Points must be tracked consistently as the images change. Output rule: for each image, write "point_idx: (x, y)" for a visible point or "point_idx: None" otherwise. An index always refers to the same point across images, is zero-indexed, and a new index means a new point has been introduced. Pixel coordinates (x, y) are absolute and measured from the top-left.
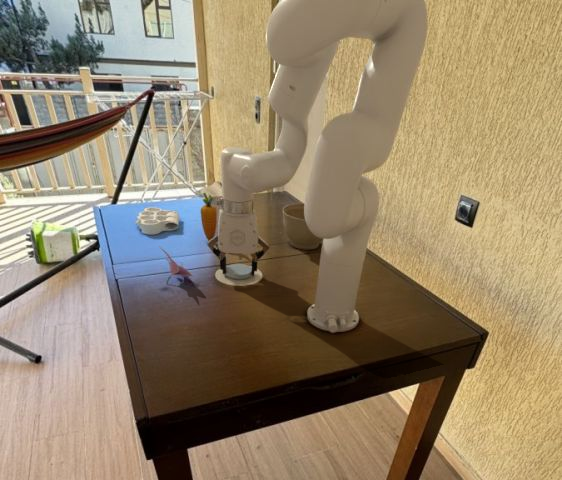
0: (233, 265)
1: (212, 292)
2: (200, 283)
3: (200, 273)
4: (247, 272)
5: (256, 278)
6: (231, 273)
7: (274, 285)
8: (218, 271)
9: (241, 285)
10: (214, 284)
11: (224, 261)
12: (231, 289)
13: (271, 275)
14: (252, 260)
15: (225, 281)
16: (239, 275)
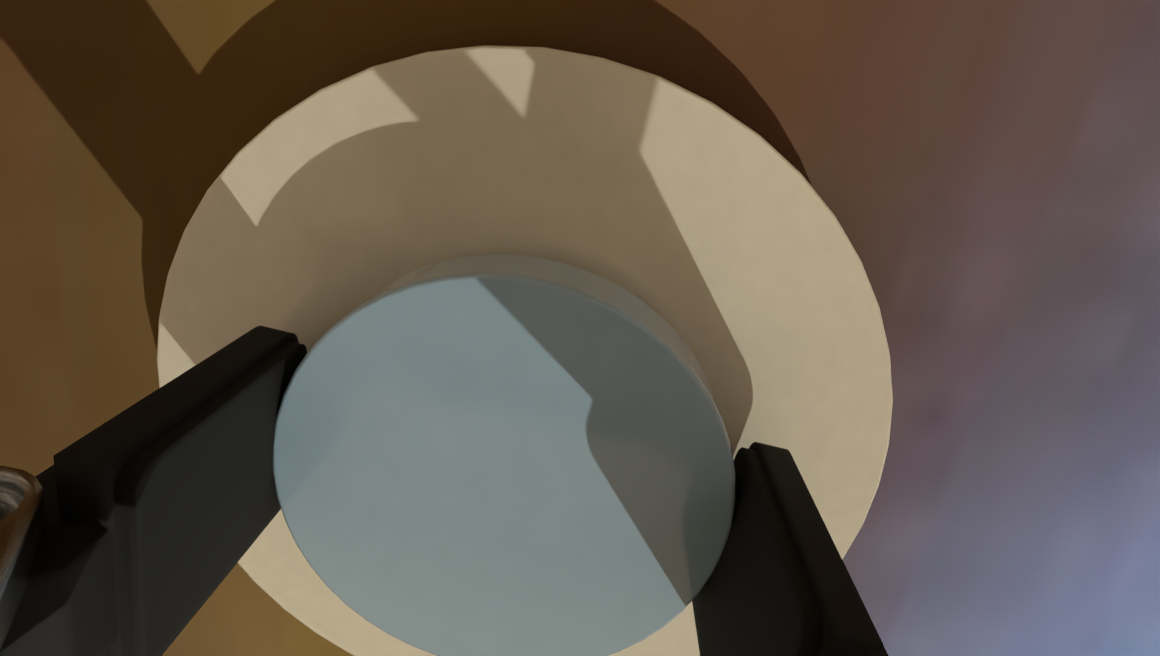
0: (572, 625)
1: (1042, 20)
2: (1112, 355)
3: (1001, 613)
4: (355, 361)
5: (247, 281)
6: (662, 359)
7: (9, 133)
8: None
9: (523, 48)
10: (917, 296)
11: (812, 622)
12: (696, 89)
13: (80, 435)
14: (124, 562)
15: (776, 251)
16: (518, 275)
